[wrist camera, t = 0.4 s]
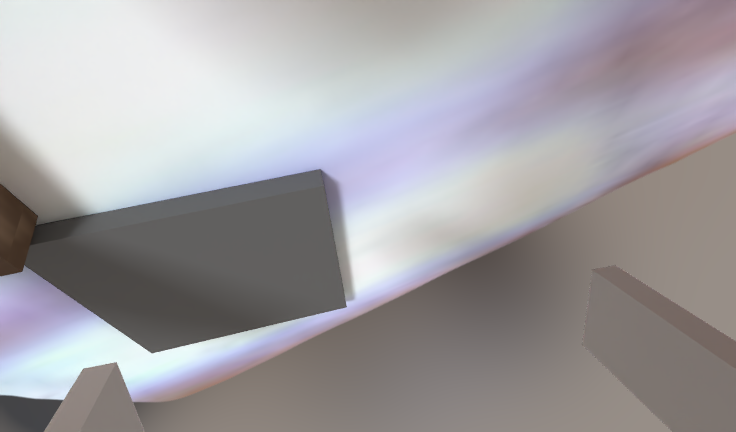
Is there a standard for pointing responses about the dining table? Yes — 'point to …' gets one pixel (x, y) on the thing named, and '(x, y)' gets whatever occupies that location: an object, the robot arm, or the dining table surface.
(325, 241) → the charcoal mat
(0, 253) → the walnut holder
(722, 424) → the robot arm
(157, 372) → the dining table surface
